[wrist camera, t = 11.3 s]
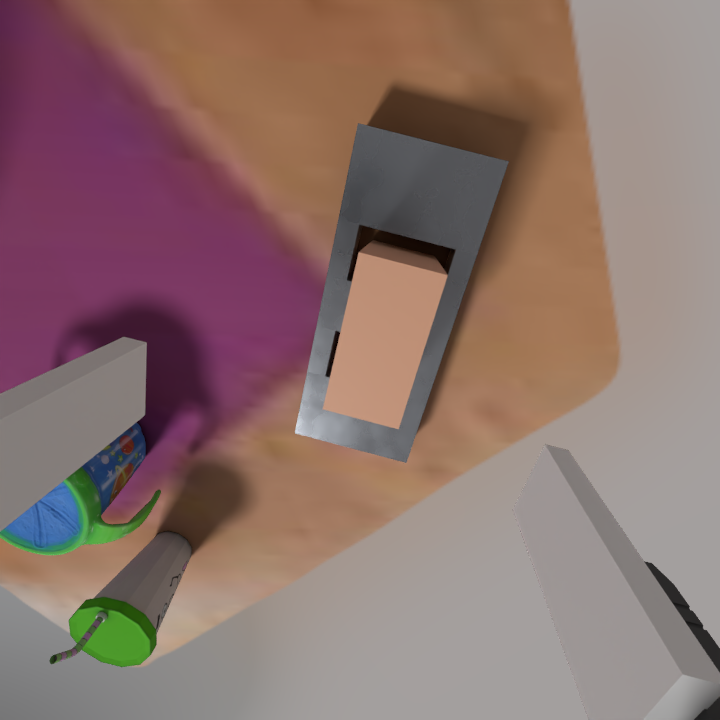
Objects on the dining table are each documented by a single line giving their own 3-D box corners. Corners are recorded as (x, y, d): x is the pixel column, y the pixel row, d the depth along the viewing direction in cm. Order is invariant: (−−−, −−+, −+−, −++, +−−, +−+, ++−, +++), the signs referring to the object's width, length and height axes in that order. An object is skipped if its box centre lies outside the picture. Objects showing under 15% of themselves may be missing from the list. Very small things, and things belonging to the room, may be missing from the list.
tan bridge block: (372, 240, 31) (358, 252, 21) (434, 255, 31) (447, 275, 21) (344, 355, 34) (322, 409, 25) (400, 370, 34) (398, 429, 25)
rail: (362, 132, 28) (358, 123, 25) (498, 166, 28) (508, 161, 25) (303, 416, 37) (294, 433, 34) (406, 443, 37) (406, 462, 34)
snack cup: (28, 423, 41) (-86, 487, 31) (67, 352, 37) (-48, 399, 28) (155, 509, 43) (84, 593, 34) (203, 449, 40) (139, 524, 30)
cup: (192, 582, 46) (101, 741, 33) (132, 553, 46) (12, 702, 32) (215, 540, 44) (127, 693, 30) (151, 508, 43) (30, 650, 29)
